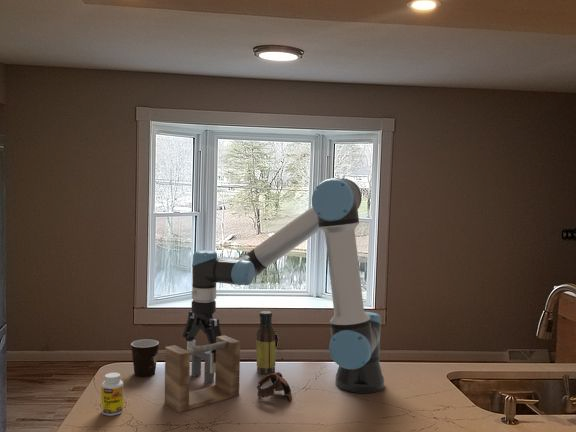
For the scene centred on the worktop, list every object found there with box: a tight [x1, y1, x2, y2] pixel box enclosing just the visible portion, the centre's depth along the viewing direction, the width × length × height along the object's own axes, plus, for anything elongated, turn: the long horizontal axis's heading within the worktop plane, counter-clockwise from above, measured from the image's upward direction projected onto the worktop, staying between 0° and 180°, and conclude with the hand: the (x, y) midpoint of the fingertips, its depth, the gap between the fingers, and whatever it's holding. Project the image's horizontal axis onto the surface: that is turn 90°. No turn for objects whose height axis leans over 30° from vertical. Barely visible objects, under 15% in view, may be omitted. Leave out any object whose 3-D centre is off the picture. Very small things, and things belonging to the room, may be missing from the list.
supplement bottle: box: [100, 372, 124, 416], centre depth 151 cm, size 6×6×10 cm
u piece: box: [191, 345, 215, 384], centre depth 178 cm, size 9×3×9 cm, turn 42°
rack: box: [164, 334, 241, 413], centre depth 161 cm, size 20×8×16 cm, turn 131°
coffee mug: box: [130, 338, 160, 378], centre depth 179 cm, size 12×9×10 cm
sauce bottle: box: [256, 310, 276, 375], centre depth 185 cm, size 6×6×20 cm
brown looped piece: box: [256, 371, 293, 402], centre depth 164 cm, size 12×9×8 cm
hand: (202, 366), depth 178 cm, fingers open, 13 cm apart
